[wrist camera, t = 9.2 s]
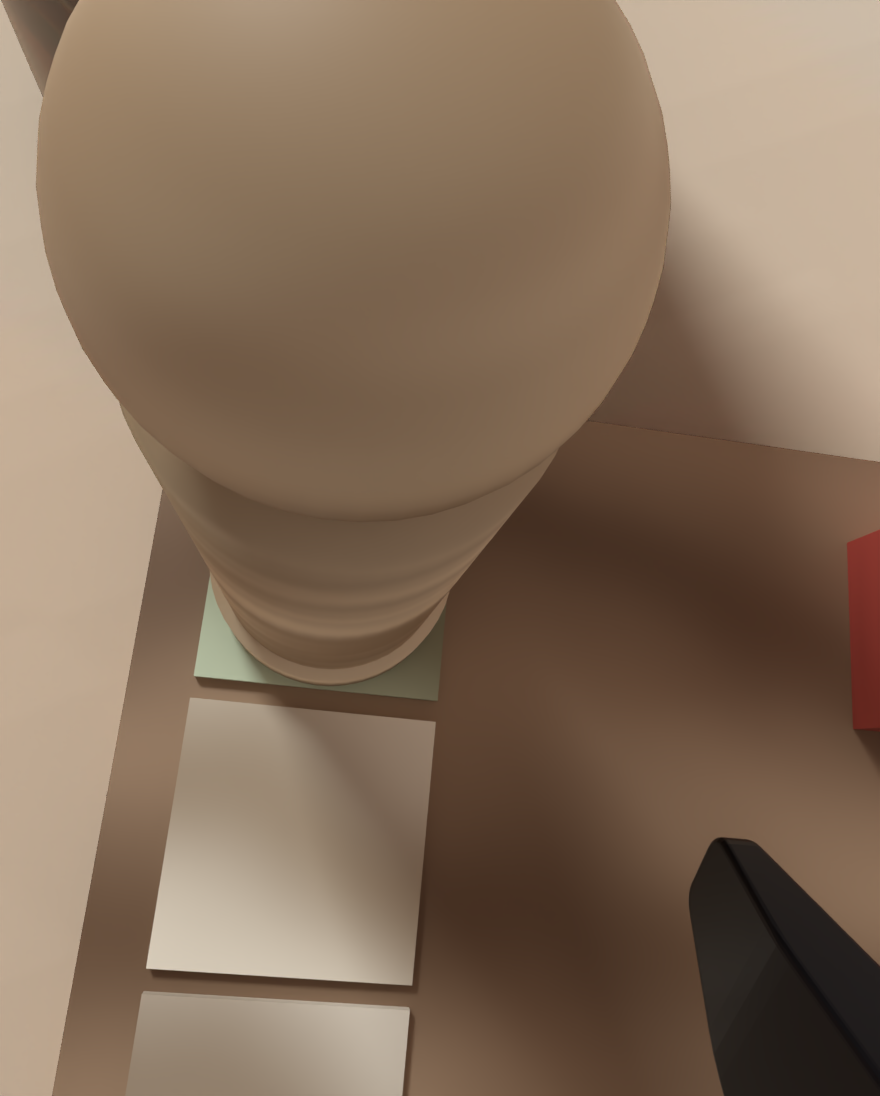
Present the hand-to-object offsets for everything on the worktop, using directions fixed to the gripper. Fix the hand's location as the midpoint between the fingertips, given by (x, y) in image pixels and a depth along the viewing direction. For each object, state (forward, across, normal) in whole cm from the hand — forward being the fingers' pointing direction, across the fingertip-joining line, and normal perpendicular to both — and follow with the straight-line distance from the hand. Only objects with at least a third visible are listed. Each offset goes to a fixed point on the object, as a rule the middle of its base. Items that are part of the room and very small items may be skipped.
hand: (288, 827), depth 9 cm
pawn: (+8, 0, +2) cm, 8 cm away
